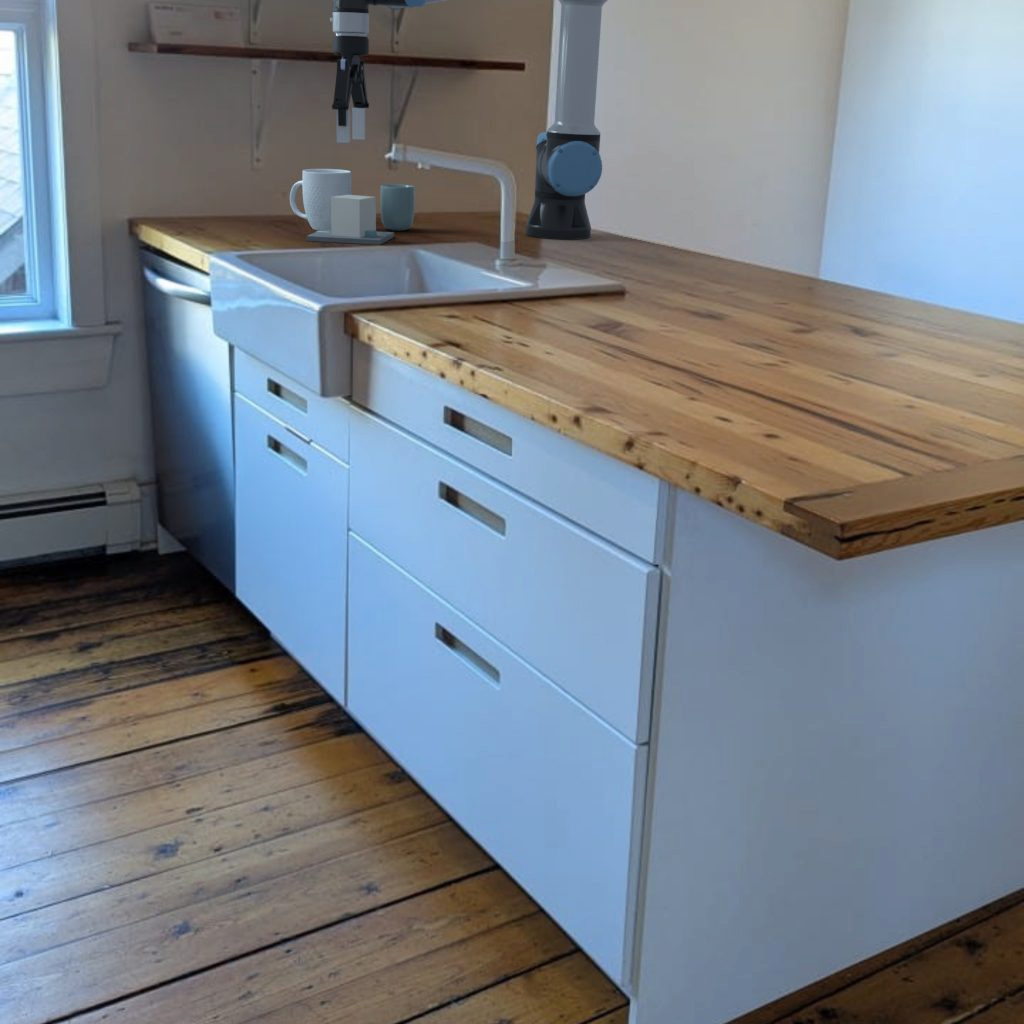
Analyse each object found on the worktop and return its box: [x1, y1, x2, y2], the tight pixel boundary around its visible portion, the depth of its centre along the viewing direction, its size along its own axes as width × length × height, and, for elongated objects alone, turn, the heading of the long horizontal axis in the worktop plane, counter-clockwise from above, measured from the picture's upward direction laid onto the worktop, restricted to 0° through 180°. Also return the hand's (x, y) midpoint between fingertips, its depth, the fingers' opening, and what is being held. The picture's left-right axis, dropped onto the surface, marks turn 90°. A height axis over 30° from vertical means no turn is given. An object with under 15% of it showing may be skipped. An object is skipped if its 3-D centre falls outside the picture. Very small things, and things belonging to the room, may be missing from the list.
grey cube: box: [331, 194, 377, 238], centre depth 285 cm, size 7×10×8 cm
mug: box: [289, 168, 352, 231], centre depth 300 cm, size 15×11×13 cm
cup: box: [379, 183, 416, 232], centre depth 304 cm, size 8×8×10 cm
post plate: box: [306, 229, 395, 245], centre depth 286 cm, size 16×14×7 cm
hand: (351, 141), depth 281 cm, fingers open, 13 cm apart
